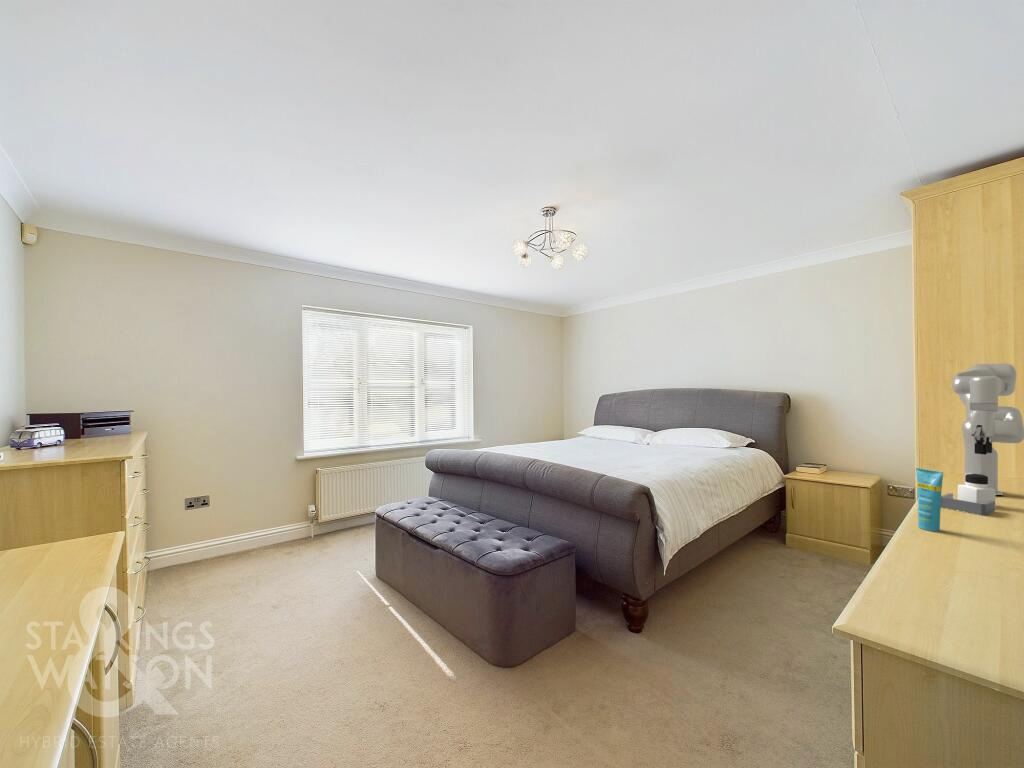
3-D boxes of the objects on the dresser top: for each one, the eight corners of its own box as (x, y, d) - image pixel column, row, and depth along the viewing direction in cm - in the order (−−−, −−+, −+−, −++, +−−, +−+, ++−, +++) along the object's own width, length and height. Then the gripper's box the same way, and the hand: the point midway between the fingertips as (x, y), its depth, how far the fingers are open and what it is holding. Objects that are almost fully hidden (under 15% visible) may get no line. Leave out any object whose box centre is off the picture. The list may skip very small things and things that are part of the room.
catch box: (949, 503, 165) (949, 493, 165) (995, 511, 155) (995, 500, 155) (939, 507, 160) (939, 496, 160) (985, 516, 149) (985, 504, 149)
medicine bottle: (996, 508, 159) (996, 476, 159) (976, 507, 159) (976, 476, 159) (975, 502, 166) (975, 472, 166) (957, 502, 166) (957, 472, 166)
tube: (910, 526, 139) (910, 467, 139) (920, 524, 140) (920, 467, 140) (938, 533, 131) (939, 472, 131) (948, 532, 133) (949, 471, 133)
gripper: (976, 406, 174) (976, 450, 174) (962, 407, 166) (962, 453, 166) (1004, 407, 168) (1004, 452, 168) (990, 408, 159) (990, 456, 159)
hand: (983, 452), depth 167 cm, fingers open, 5 cm apart
